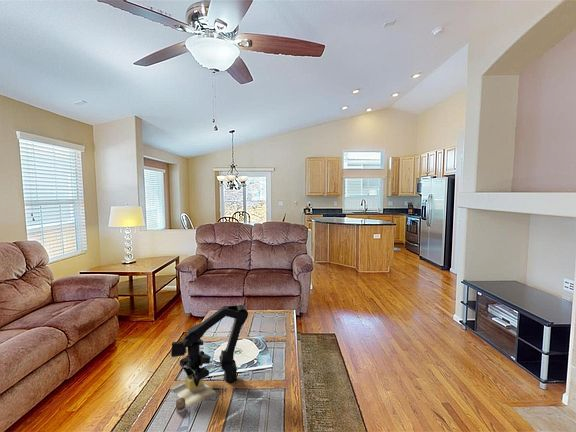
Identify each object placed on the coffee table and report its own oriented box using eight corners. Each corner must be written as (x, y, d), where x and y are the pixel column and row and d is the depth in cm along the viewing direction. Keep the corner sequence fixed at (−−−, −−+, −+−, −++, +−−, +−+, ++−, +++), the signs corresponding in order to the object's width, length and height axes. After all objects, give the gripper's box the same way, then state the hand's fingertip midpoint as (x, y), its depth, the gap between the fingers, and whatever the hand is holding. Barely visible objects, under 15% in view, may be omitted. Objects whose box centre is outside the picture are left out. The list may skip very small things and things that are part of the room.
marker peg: (186, 411, 138) (186, 400, 138) (178, 415, 136) (178, 404, 135) (182, 407, 141) (182, 396, 141) (174, 411, 138) (174, 400, 138)
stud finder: (202, 384, 156) (202, 374, 156) (189, 390, 152) (189, 380, 151) (198, 380, 160) (198, 371, 159) (185, 386, 155) (185, 376, 154)
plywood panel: (216, 394, 150) (216, 393, 150) (189, 409, 140) (189, 407, 140) (195, 376, 164) (195, 375, 164) (169, 388, 154) (169, 387, 154)
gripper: (218, 354, 154) (218, 384, 155) (198, 341, 166) (198, 369, 168) (198, 363, 146) (198, 395, 147) (178, 349, 158) (179, 378, 160)
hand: (194, 383), depth 156 cm, fingers closed on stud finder, 5 cm apart
